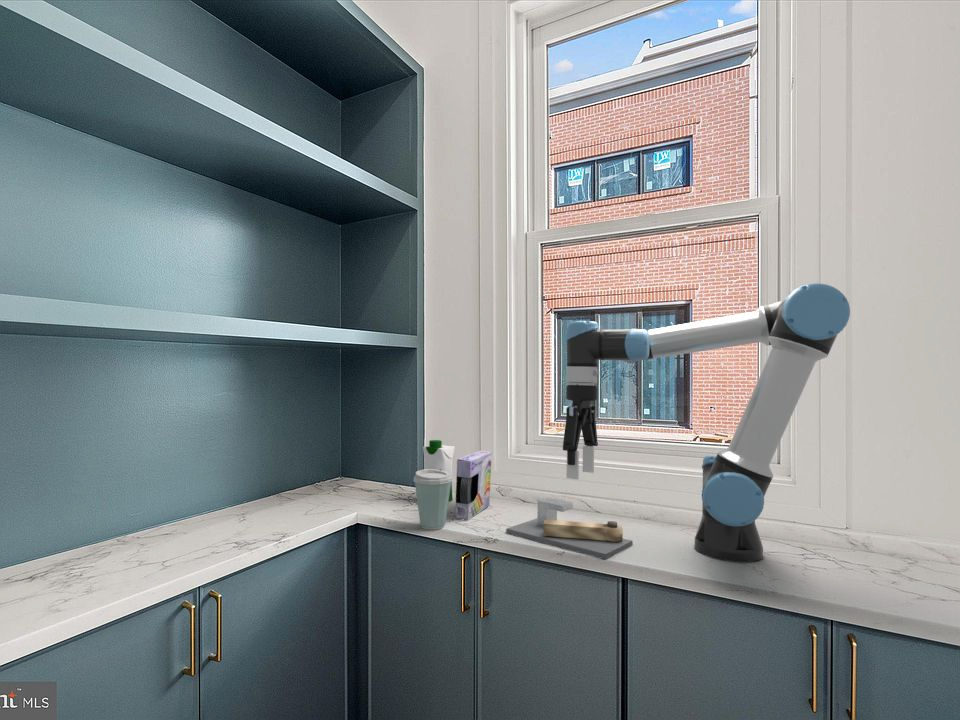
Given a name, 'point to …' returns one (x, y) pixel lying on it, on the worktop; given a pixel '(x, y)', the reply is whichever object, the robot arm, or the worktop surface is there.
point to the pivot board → (570, 541)
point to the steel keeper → (551, 509)
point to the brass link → (584, 530)
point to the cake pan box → (472, 484)
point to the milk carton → (439, 458)
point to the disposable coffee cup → (432, 497)
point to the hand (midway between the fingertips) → (580, 475)
